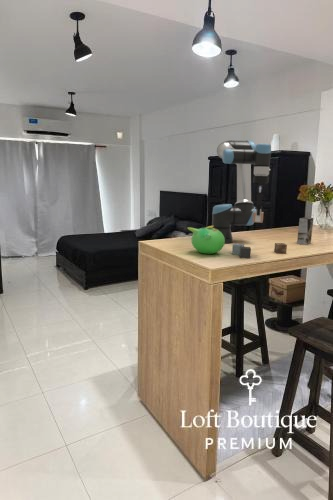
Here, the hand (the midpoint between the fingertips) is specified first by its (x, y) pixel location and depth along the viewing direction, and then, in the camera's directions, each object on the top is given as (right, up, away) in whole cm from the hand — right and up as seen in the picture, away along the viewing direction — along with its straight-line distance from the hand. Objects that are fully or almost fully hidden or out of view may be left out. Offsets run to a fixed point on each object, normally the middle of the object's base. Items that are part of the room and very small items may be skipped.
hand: (257, 221), depth 181 cm
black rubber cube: (-8, -19, -4) cm, 21 cm away
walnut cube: (+15, -17, +9) cm, 24 cm away
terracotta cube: (0, 0, 0) cm, 0 cm away
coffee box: (+39, -11, +38) cm, 56 cm away
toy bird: (-26, -17, +3) cm, 32 cm away
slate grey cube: (-10, -17, +4) cm, 20 cm away
